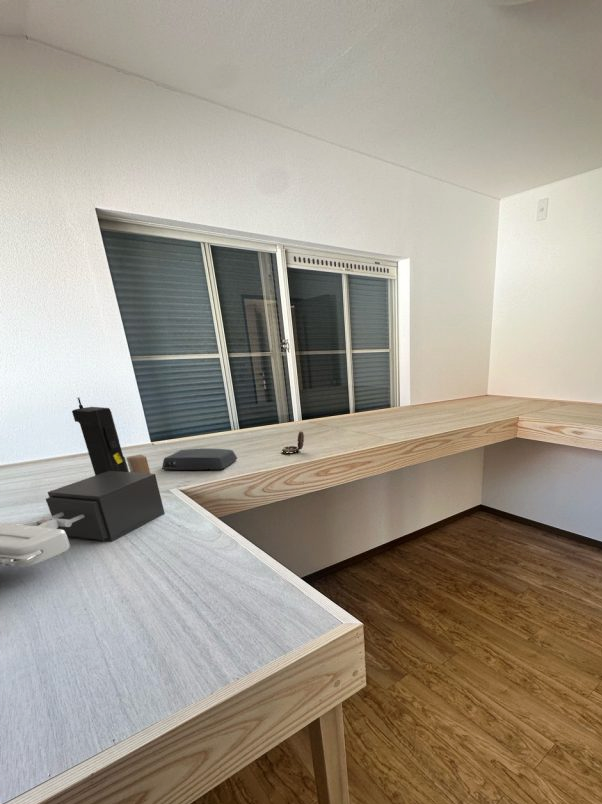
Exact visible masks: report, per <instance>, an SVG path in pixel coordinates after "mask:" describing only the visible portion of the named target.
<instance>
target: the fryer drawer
mask: <svg viewBox="0 0 602 804" xmlns="http://www.w3.org/2000/svg"><path fill="white" fill-rule="evenodd" d="M45 501H46V504H47V507H48V509H49V512H50V516H48V517H47V516H43V517H41V518H40V519H42V518H44V519H53V520H56V521H57V523H58V528H57V529H62V530H64V531H65V532H66V535H67V537H70V536H76V537H75V538H79V537H85V538H84V539H87V538H93V539H92V540H96V539H102V540H101V541H104V539H106V538H108V534H107V531H106V527H105V524H104V521H103V518H102V514H101V511H100V508H99V505H98V501H97V500H90V499H79V498H68V497H61V498H59V497H49V496H48V497H46V498H45Z"/></svg>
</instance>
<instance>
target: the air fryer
mask: <svg viewBox="0 0 602 804" xmlns="http://www.w3.org/2000/svg"><path fill="white" fill-rule="evenodd" d="M47 495H48V498H49V497H59V498H61V497H68V498H79V499H90V500H97V501H98V505H99V508H100V511H101V514H102V518H103V521H104V524H105V527H106V531H107V534H108V538H106V539H104V540H102V539H95V541H96V540H97V541H104V542H105V541H106V542H114V541H116V540H119V539H120V538H122V537H123V536H125V535H128V534H129V533H131V532H133V531H135V530H137V529H138V528H140V527H143V526H144V525H146V524H148V523H150V522H152V521H154V520H155V519H158V518H159V517H161V516H162V515H165V514H166V513H165V509H164V505H163V501H162V500H163V499H162V497H161V493H160V488H159V485H158V480H157V476H156V473H151V472H150V473H135V472H130V471H129V472H120V471H107V472H104V473H101V474H98V475H95V474H94V475H92V476H90V477H87V478H84V479H81V480H78V481H76V482H73V483H70V484H67V485H64V486H61V487H59V488H56V489H53V490H50V491H47ZM69 537H71V538H77V537H76V536H69ZM78 538H79V539H86V540H87V539H88V540H94V539H93V538H85V537H78Z"/></svg>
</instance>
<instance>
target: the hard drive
mask: <svg viewBox="0 0 602 804" xmlns="http://www.w3.org/2000/svg"><path fill="white" fill-rule="evenodd" d="M236 459H237V460H238V456H237V454H236V453H235V451H234V450H232V449H229V448H214V447H213V448H207V447H205V448H187V449H180V450H178V451H175V452H174V453H172V454H170V455H168V456H166V457H164V458H163V461H162V466H161V467H162V468H161V469H162V470H170V471H171V470H172V471H173V470H174V471H196V470H197V471H198V470H199V471H205V470H206V471H207V469H210V470H224V469H225V468H227V467H228V466H230V465H231V464H232V463H234V462H235V461H236ZM226 466H227V467H226ZM223 468H224V469H223ZM203 469H204V470H203Z"/></svg>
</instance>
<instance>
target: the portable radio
mask: <svg viewBox="0 0 602 804" xmlns="http://www.w3.org/2000/svg"><path fill="white" fill-rule="evenodd" d="M77 401H78V408H75V409H73V410H71V413H72V417H73V420H74V422H76V423H78V424H79V426H80V428H81V432H82V436H83V440H84V442H85V446H86V450H87V453H88V456H89V459H90V462H91V466H92V469H93V473H94V476H95V475H98V474H101V473H104V472H107V471H120V472H130V469H129V466H128V463H127V459H126V457H125V456H124V454H123V451H122V447H121V443H120V438H119V435H118V432H117V429H116V424H115V421H114V418H113V414H112V410H111V409H110V407H102V406H101V407H100V406H87V407H84V406H83V404H82V402H81V398H80V397H77Z"/></svg>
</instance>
